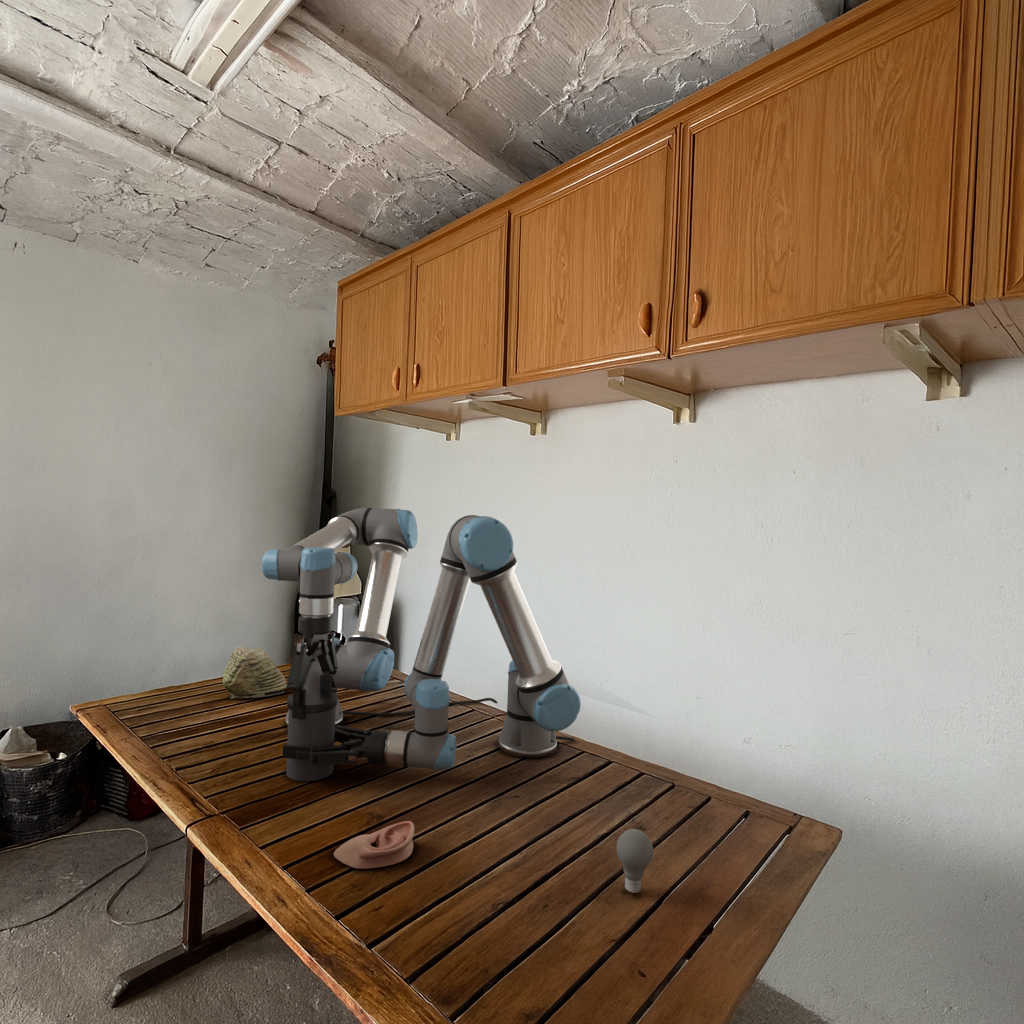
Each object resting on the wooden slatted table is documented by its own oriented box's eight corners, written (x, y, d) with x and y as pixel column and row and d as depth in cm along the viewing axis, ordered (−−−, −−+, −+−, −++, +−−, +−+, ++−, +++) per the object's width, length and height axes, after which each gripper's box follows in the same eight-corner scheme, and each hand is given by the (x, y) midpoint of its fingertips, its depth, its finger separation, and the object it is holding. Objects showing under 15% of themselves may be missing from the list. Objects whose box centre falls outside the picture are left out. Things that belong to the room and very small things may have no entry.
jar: (277, 770, 145) (280, 698, 145) (318, 758, 153) (320, 689, 153) (301, 785, 138) (303, 709, 138) (342, 772, 146) (344, 700, 146)
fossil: (218, 695, 195) (220, 647, 195) (278, 685, 208) (279, 640, 207) (228, 703, 189) (230, 653, 188) (289, 692, 201) (290, 645, 201)
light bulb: (610, 879, 108) (613, 822, 108) (644, 879, 109) (647, 822, 109) (619, 902, 102) (622, 840, 102) (655, 901, 103) (658, 840, 103)
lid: (278, 703, 145) (278, 696, 145) (321, 694, 153) (321, 687, 153) (303, 716, 138) (303, 708, 138) (346, 705, 146) (347, 698, 146)
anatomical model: (325, 840, 109) (355, 809, 121) (324, 863, 109) (354, 830, 121) (398, 852, 107) (421, 819, 118) (397, 876, 107) (420, 840, 118)
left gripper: (326, 605, 157) (323, 693, 158) (271, 622, 134) (267, 725, 135) (354, 608, 156) (351, 696, 156) (303, 625, 133) (299, 729, 133)
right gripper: (373, 786, 133) (271, 779, 134) (399, 745, 156) (311, 739, 157) (375, 751, 133) (272, 744, 134) (400, 714, 156) (312, 709, 157)
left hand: (312, 710), depth 145 cm, fingers closed on lid, 11 cm apart
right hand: (293, 741), depth 146 cm, fingers closed on jar, 10 cm apart
